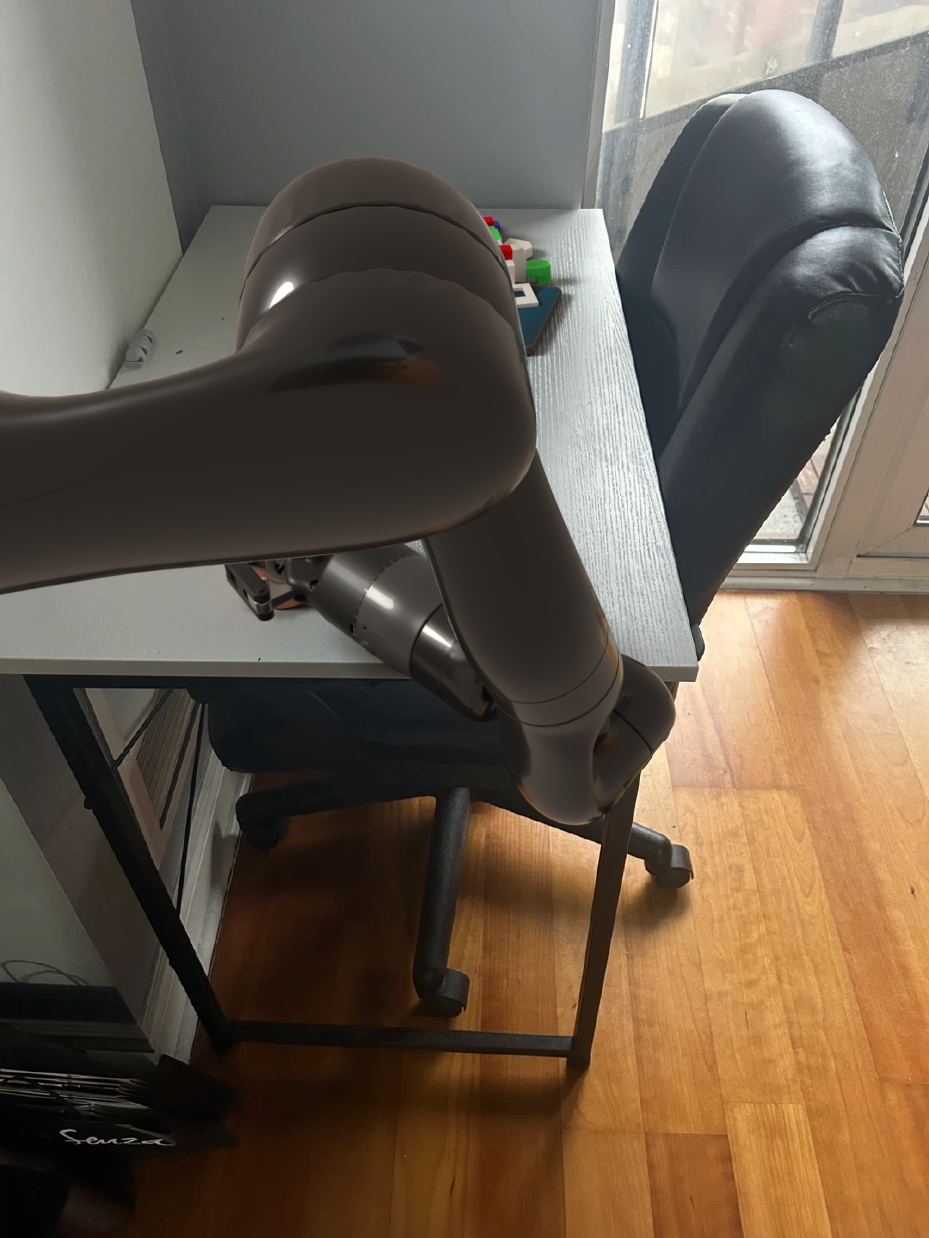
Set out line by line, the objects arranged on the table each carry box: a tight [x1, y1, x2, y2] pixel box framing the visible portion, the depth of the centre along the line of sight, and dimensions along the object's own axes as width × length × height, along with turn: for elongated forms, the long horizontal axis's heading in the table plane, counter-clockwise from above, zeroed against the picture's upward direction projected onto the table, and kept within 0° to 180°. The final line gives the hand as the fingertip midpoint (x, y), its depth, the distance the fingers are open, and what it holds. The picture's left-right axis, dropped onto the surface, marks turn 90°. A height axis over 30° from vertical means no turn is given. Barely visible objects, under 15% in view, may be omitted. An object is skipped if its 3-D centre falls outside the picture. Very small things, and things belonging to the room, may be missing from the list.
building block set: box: [481, 215, 552, 308], centre depth 114 cm, size 25×20×4 cm
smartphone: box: [514, 282, 563, 356], centre depth 107 cm, size 8×15×1 cm, turn 163°
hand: (250, 503), depth 73 cm, fingers closed on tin, 5 cm apart
